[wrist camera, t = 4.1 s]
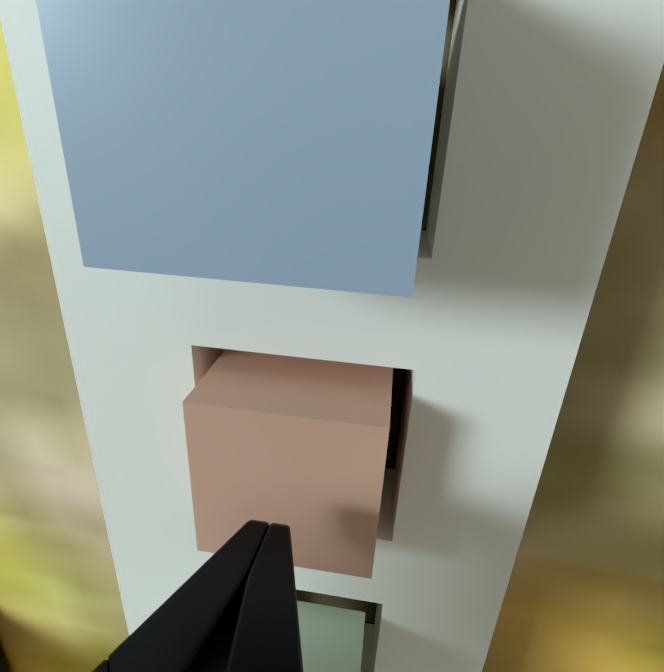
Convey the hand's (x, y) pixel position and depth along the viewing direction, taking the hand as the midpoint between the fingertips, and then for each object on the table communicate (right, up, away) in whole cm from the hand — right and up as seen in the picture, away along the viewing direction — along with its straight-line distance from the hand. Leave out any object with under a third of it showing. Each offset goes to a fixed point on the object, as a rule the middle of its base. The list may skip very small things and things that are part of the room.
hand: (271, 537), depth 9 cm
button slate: (+1, +8, -1) cm, 8 cm away
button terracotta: (+1, +2, +5) cm, 5 cm away
